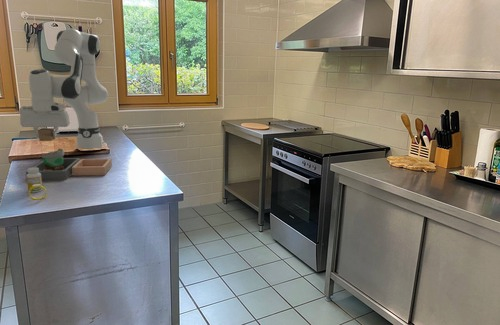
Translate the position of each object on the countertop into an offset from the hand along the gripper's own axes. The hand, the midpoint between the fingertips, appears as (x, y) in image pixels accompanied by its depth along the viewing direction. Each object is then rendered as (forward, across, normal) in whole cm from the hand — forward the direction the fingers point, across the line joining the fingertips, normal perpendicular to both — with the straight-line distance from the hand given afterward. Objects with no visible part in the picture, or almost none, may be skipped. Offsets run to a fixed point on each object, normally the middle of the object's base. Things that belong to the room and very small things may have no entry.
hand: (47, 136), depth 171 cm
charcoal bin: (+19, 0, +6) cm, 20 cm away
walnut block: (+2, 0, 0) cm, 2 cm away
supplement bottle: (+20, +1, -21) cm, 29 cm away
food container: (+19, 0, +9) cm, 21 cm away
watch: (+20, +6, -31) cm, 37 cm away
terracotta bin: (+19, +17, +8) cm, 27 cm away
